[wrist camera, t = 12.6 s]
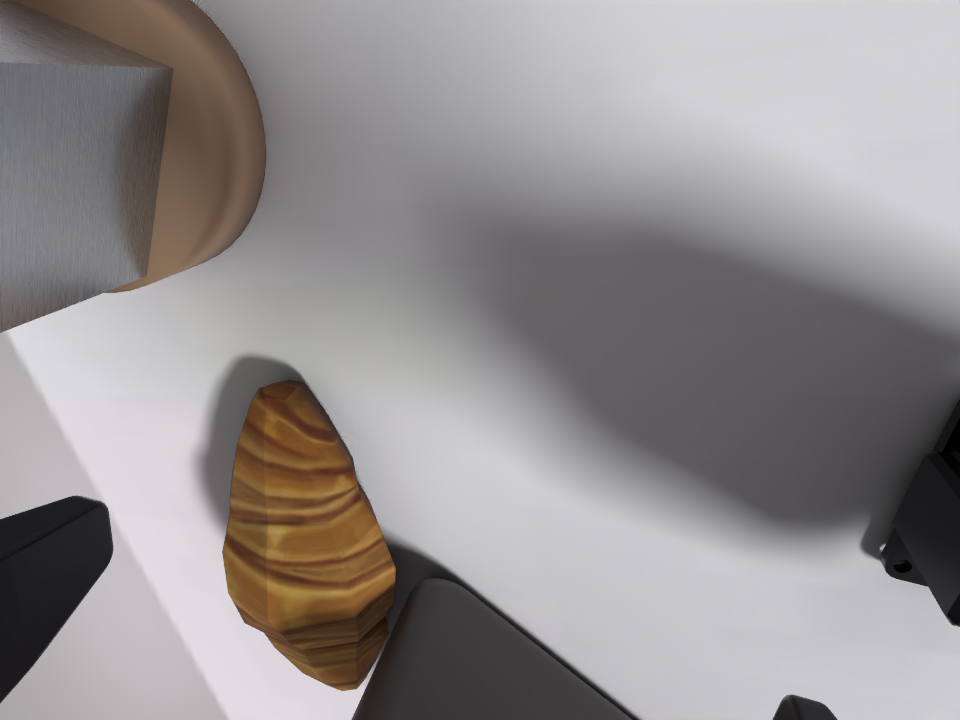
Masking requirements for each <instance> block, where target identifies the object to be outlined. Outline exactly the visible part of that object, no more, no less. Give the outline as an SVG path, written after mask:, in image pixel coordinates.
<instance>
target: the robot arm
mask: <svg viewBox="0 0 960 720" xmlns="http://www.w3.org/2000/svg"><path fill="white" fill-rule="evenodd" d="M892 523H893V525H894V527H895V528H894V530H893V532H892V534H891V536H890V538H889V540H888V542H887V544H886V546H885V548H884V550H883V552H882V554H881V558H880V559H881V562H882V565H883V567H884V569H885V571H886V572H887V573H888V574H889V575H890V576H891V577H894V578H896V579H900V580H904V581H908V582H912V583H916V584H920V585H924V586H928V587H929V588H930V590H931V592H932V594H933V595H934V597H935V599H936V601H937V602H938V604H939V606H940V608H941V609H942V611H943V613H944V615H945V616H946V618H947V619H948V621H949V622H950V623H951V624H952V625H954V626H958V627H960V400H959V401H958V403H957V405H956V407H955V409H954V411H953V413H952V415H951V417H950V419H949V421H948V423H947V425H946V427H945V429H944V431H943V433H942V435H941V437H940V439H939V441H938V443H937V445H936V447H935V449H934V451H933V452H931V453H929V454H928V455H926V456H925V457H924V459H923V461H922V463H921V465H920V467H919V469H918V471H917V473H916V475H915V477H914V479H913V481H912V483H911V485H910V487H909V489H908V491H907V493H906V495H905V497H904V499H903V501H902V503H901V505H900V507H899V509H898V511H897V513H896V515H895V517H894V519H893V522H892ZM112 554H113V541H112V533H111V526H110V518H109V511H108V508H107V506H106V505H105V504H104V503H103V502H101V501H97V500H94V499H90V498H87V497H83V496H72V497H68V498H65V499H62V500H59V501H55V502H52V503H49V504H47V505H43V506H40V507H37V508H34V509H31V510H28V511H25V512H21V513H19V514H15V515H12V516H9V517H6V518H3V519H0V703H1V702H2V701H3V700H4V698H5V697H6V696H7V695H8V694H9V693H10V692H11V691H12V689H13V688H14V687H15V686H16V685H17V684H18V683H19V682H20V680H21V679H22V678H23V677H24V675H26V673H27V672H28V671H29V670H30V669H31V667H32V666H33V665H34V664H35V662H36V661H37V660H38V659H39V657H40V656H41V655H42V653H43V652H44V651H45V650H46V648H47V647H48V646H49V644H50V643H51V642H52V640H53V639H54V637H55V636H56V635H57V634H58V632H59V631H60V630H61V628H62V627H63V625H64V624H65V623H66V621H67V620H68V619H69V617H70V616H71V615H72V613H73V612H74V611H75V609H76V608H77V607H78V605H79V604H80V603H81V601H82V600H83V599H84V597H85V596H86V594H87V593H88V592H89V590H90V589H91V588H92V586H93V585H94V584H95V582H96V581H97V580H98V578H99V577H100V576H101V574H102V573H103V572H104V570H105V569H106V567H107V566H108V564H109V562H110V560H111V557H112ZM899 560H907V561H906V562H905V563H903V564H895V563H896V562H897V561H899ZM773 720H837V718H836V717H835V716H834V714H833V713H832V712H831V711H830V710H829V708H827V707H826V706H825V705H824V704H822V703H820V702H817V701H814V700H810V699H807V698H803V697H799V696H796V695H787V696H785V697H784V698H783V700H782V701H781V703H780V705H779V707H778V709H777V711H776V713H775V715H774V718H773Z"/></svg>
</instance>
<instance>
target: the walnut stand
mask: <svg viewBox="0 0 960 720" xmlns="http://www.w3.org/2000/svg"><path fill="white" fill-rule="evenodd" d="M14 1H16V2H18V3H21V4H23V5H25V6H28V7H30V8H32V9H35V10H37V11H40V12H42V13H44V14H47V15H49V16H51V17H54V18H56V19H58V20H61V21H63V22H65V23H68V24H70V25H72V26H75V27H77V28H80V29H82V30H84V31H87V32H89V33H91V34H94V35H96V36H98V37H101V38H103V39H105V40H108V41H110V42H112V43H115V44H117V45H120V46H122V47H124V48H127V49H129V50H131V51H134V52H136V53H138V54H141V55H143V56H145V57H148V58H150V59H152V60H155V61H157V62H159V63H162V64H164V65H167V66H169V67H171V68H174V69H173V77H172V84H171V92H170V100H169V108H168V116H167V123H166V131H165V139H164V147H163V154H162V162H161V170H160V178H159V186H158V193H157V201H156V209H155V217H154V224H153V232H152V240H151V248H150V256H149V263H148V271H147V276H146V277H143V278H141V279H138V280H136V281H133V282H131V283H128V284H125V285H123V286H120V287H118V288H115V289H112V290H110V291H107V292H105V293H117V292H124V291H131V290H134V289H137V288H140V287H143V286H146V285H149V284H151V283H153V282H156V281H158V280H161V279H163V278H166V277H168V276H171V275H173V274H176V273H178V272H181V271H183V270H186V269H188V268H191V267H193V266H196V265H198V264H201V263H203V262H206V261H208V260H209V259H211V258H213V257H215V256H217V255H219V254H220V253H222V252H223V251H224V250H226V249H227V248H228V247H230V246H231V245H232V244H233V242H234V241H235V240H236V239H237V238H238V237H239V236H240V235H241V234H242V232H243V231H244V229H245V228H246V226H247V225H248V223H249V222H250V220H251V218H252V216H253V214H254V211H255V209H256V207H257V204H258V201H259V198H260V195H261V192H262V186H263V181H264V175H265V161H266V149H265V134H264V128H263V122H262V116H261V112H260V108H259V105H258V101H257V98H256V94H255V92H254V89H253V87H252V84H251V82H250V79H249V77H248V74H247V72H246V70H245V68H244V66H243V64H242V63H241V61H240V59H239V57H238V55H237V53H236V52H235V50H234V49H233V47H232V46H231V44H230V43H229V41H228V40H227V38H226V37H225V35H224V34H223V33H222V32H221V31H220V29H219V28H218V27H217V26H216V25H215V23H214V22H213V21H212V20H211V19H210V18H209V17H208V16H207V15H206V14H205V13H204V12H203V11H202V10H201V9H200V8H199V7H198V6H197V5H196V4H195V3H193V2H192V1H191V0H14Z"/></svg>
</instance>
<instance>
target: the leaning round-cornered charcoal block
mask: <svg viewBox="0 0 960 720" xmlns="http://www.w3.org/2000/svg"><path fill="white" fill-rule="evenodd" d="M352 720H632V719H631V718H630V717H628V716H627V715H626V714H624V713H623V712H622V711H621V710H619V709H618V708H617V707H616V706H614V705H613V704H612V703H610V702H609V701H608V700H607V699H605V698H604V697H603V696H601V695H600V694H599V693H598V692H596V691H595V690H594V689H593V688H591V687H590V686H589V685H587V684H586V683H585V682H584V681H582V680H581V679H580V678H579V677H577V676H576V675H575V674H573V673H572V672H571V671H570V670H568V669H567V668H566V667H564V666H563V665H562V664H561V663H559V662H558V661H557V660H556V659H554V658H553V657H552V656H550V655H549V654H548V653H547V652H545V651H544V650H543V649H541V648H540V647H539V646H538V645H536V644H535V643H534V642H533V641H531V640H530V639H529V638H527V637H526V636H525V635H524V634H522V633H521V632H520V631H519V630H517V629H516V628H515V627H513V626H512V625H511V624H510V623H508V622H507V621H506V620H504V619H503V618H502V617H501V616H499V615H498V614H497V613H496V612H494V611H493V610H492V609H490V608H489V607H488V606H487V605H485V604H484V603H483V602H481V601H480V600H479V599H478V598H476V597H475V596H474V595H473V594H471V593H470V592H469V591H467V590H466V589H465V588H463V587H461V586H460V585H458V584H456V583H454V582H451V581H448V580H445V579H440V578H428V579H424V580H422V581H420V582H419V583H417V584H416V585H415V586H414V587H413V589H412V590H411V592H410V594H409V596H408V598H407V600H406V602H405V604H404V606H403V609H402V611H401V613H400V615H399V617H398V620H397V622H396V624H395V626H394V628H393V630H392V633H391V635H390V637H389V639H388V641H387V644H386V646H385V648H384V650H383V652H382V654H381V657H380V659H379V661H378V663H377V665H376V668H375V670H374V672H373V674H372V676H371V678H370V681H369V683H368V685H367V687H366V689H365V692H364V694H363V696H362V698H361V700H360V702H359V705H358V707H357V709H356V711H355V713H354V716H353V718H352Z"/></svg>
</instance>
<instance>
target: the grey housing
mask: <svg viewBox="0 0 960 720" xmlns="http://www.w3.org/2000/svg"><path fill="white" fill-rule="evenodd" d="M173 69H174V68H171V67H169V66H167V65H164V64H162V63H159V62H157V61H155V60H152V59H150V58H148V57H145V56H143V55H141V54H138V53H136V52H134V51H131V50H129V49H127V48H124V47H122V46H120V45H117V44H115V43H112V42H110V41H108V40H105V39H103V38H101V37H98V36H96V35H94V34H91V33H89V32H87V31H84V30H82V29H80V28H77V27H75V26H72V25H70V24H68V23H65V22H63V21H61V20H58V19H56V18H54V17H51V16H49V15H47V14H44V13H42V12H40V11H37V10H35V9H32V8H30V7H28V6H25V5H23V4H21V3H18V2H16V1H14V0H0V333H1V332H3V331H6V330H9V329H11V328H14V327H16V326H19V325H21V324H24V323H27V322H29V321H32V320H34V319H37V318H40V317H42V316H45V315H47V314H50V313H53V312H55V311H58V310H60V309H63V308H66V307H68V306H71V305H73V304H76V303H79V302H81V301H84V300H86V299H89V298H92V297H94V296H97V295H99V294H102V293H105V292H107V291H110V290H112V289H115V288H118V287H120V286H123V285H125V284H128V283H131V282H133V281H136V280H138V279H141V278H143V277H146V276H147V271H148V263H149V256H150V248H151V240H152V232H153V224H154V217H155V209H156V201H157V193H158V186H159V178H160V170H161V162H162V154H163V147H164V139H165V131H166V123H167V116H168V108H169V100H170V92H171V84H172V77H173Z"/></svg>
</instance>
